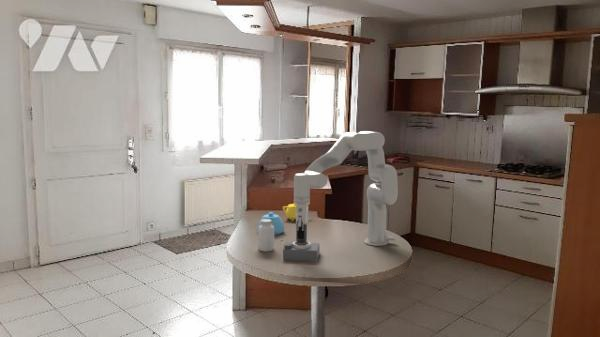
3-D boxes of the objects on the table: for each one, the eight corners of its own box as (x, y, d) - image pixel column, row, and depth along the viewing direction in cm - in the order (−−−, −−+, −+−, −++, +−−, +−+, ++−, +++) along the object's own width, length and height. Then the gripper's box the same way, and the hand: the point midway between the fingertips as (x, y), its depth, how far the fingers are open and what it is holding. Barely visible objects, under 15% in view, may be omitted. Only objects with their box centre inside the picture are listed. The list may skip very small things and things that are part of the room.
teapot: (307, 216, 302) (307, 200, 301) (312, 220, 292) (312, 203, 290) (280, 218, 298) (280, 201, 296) (284, 222, 287) (284, 205, 286)
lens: (307, 240, 224) (307, 221, 223) (305, 243, 219) (306, 224, 218) (297, 239, 225) (297, 221, 223) (295, 242, 220) (295, 223, 218)
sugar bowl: (268, 237, 254) (268, 217, 252) (252, 232, 265) (252, 212, 264) (289, 232, 263) (289, 212, 262) (273, 227, 275) (273, 208, 273)
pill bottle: (268, 252, 228) (268, 223, 226) (255, 250, 232) (254, 220, 230) (277, 248, 235) (277, 219, 232) (264, 246, 239) (264, 217, 237)
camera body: (319, 253, 228) (319, 240, 227) (316, 261, 216) (316, 247, 215) (287, 251, 230) (287, 238, 229) (282, 259, 218) (282, 245, 217)
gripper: (307, 203, 210) (307, 242, 213) (311, 196, 227) (311, 232, 229) (291, 202, 211) (290, 241, 214) (296, 195, 228) (296, 231, 230)
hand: (301, 236), depth 221 cm, fingers closed on lens, 5 cm apart
